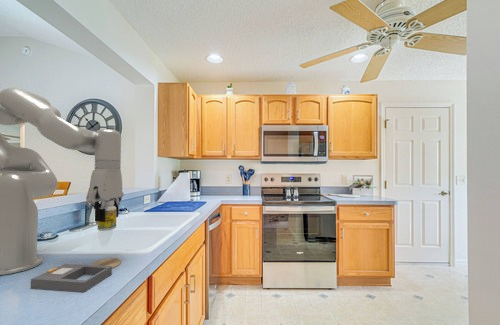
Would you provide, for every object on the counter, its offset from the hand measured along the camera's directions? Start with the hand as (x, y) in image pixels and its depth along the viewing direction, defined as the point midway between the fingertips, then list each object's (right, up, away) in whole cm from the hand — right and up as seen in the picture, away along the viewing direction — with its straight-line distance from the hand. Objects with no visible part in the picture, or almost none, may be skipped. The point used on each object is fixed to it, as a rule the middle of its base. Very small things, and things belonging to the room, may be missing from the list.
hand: (107, 218), depth 76 cm
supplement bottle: (0, -4, 0) cm, 4 cm away
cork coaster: (0, -16, -1) cm, 16 cm away
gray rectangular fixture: (-2, -15, -11) cm, 19 cm away
